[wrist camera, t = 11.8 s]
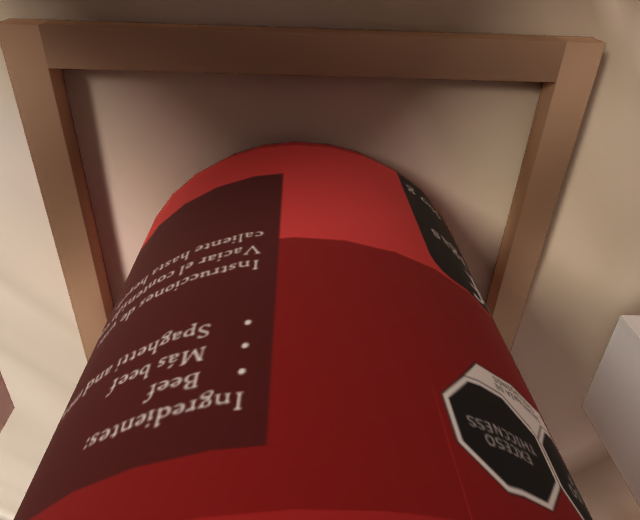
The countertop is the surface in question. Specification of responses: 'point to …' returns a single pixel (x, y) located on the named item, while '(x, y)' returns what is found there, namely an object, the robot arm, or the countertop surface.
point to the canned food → (301, 365)
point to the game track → (291, 59)
